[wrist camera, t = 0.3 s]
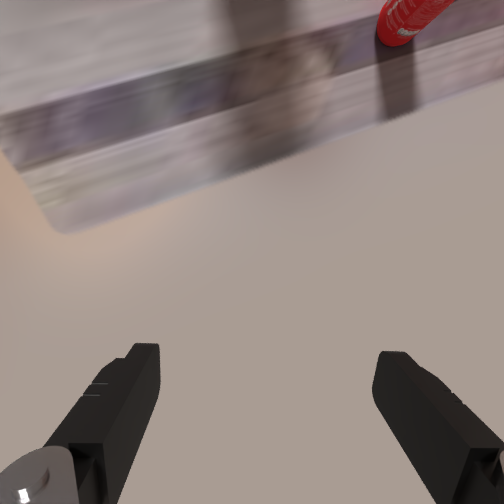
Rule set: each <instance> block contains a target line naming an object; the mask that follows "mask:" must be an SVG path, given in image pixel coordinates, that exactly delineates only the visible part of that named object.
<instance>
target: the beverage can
mask: <svg viewBox="0 0 504 504" xmlns="http://www.w3.org/2000/svg"><path fill="white" fill-rule="evenodd" d="M454 1H455V0H388V1H387V2H386V3H385V5H384V6H383V8H382V10H381V12H380V15H379V19H378V22H377V35H378V38H379V40H380V41H381V42H382V43H383V44H384V45H386V46H388V47H395V46H398V45H403V44H405V43H407V42H408V41H409V40H411V39H412V38H413V37H414V36H415V35H416V34H417V33H419V32H420V31H421V30H422V29H423V28H424V27H425V26H426V25H428V24H429V23H430V22H431V21H432V20H433V19H434V18H436V17H437V16H438V15H439V14H440V13H441V12H442V11H443V10H445V9H446V8H447V7H448V6H449V5H450V4H451V3H453V2H454Z"/></svg>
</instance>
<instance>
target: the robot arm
mask: <svg viewBox="0 0 504 504" xmlns="http://www.w3.org/2000/svg"><path fill="white" fill-rule="evenodd" d="M159 390H160V351H159V345H158V344H152V343H135V344H134V345H133V347H132V348H131V350H130V351H129V353H128V354H127V355H126V357H125V358H116V359H115V360H113V361H112V362H111V363H109V364H108V365H106V366H105V367H104V368H102V369H101V371H100V372H99V373H98V375H97V376H96V377H95V379H94V380H93V381H92V384H91V385H89V386H88V388H87V389H86V390H85V392H84V393H83V396H81V397H80V398H79V400H78V401H77V403H76V404H75V405H74V407H73V408H72V409H71V410H70V412H69V413H68V414H67V416H66V417H65V419H64V420H63V421H62V422H61V424H60V425H59V426H58V428H57V429H56V430H55V432H54V433H53V434H52V436H51V437H50V438H49V440H48V441H47V442H46V444H45V445H44V446H43V447H42V448H40V449H36V450H34V451H32V452H29V453H28V454H26V455H24V456H22V457H20V458H19V459H17V460H16V461H15V462H13V463H12V464H10V465H9V466H8V467H7V468H6V469H4V470H3V471H2V472H1V473H0V504H117V502H118V500H119V497H120V495H121V492H122V489H123V487H124V484H125V482H126V479H127V477H128V474H129V471H130V469H131V466H132V463H133V461H134V459H135V456H136V453H137V451H138V448H139V446H140V443H141V440H142V438H143V435H144V433H145V430H146V428H147V425H148V422H149V420H150V417H151V415H152V412H153V410H154V407H155V404H156V402H157V399H158V395H159ZM372 394H373V398H374V401H375V404H376V406H377V408H378V409H379V411H380V412H381V414H382V416H383V417H384V419H385V420H386V422H387V424H388V426H389V427H390V429H391V430H392V432H393V434H394V435H395V437H396V439H397V440H398V442H399V443H400V445H401V447H402V448H403V450H404V452H405V453H406V455H407V456H408V458H409V460H410V461H411V463H412V465H413V466H414V468H415V469H416V471H417V473H418V475H419V476H420V478H421V480H422V481H423V483H424V484H425V486H426V488H427V489H428V491H429V493H430V494H431V496H432V498H433V499H434V501H435V502H436V504H504V442H503V441H502V440H501V439H500V438H499V437H498V436H497V435H496V434H495V433H494V432H493V431H492V430H491V429H490V428H488V426H487V425H485V423H484V422H482V421H481V420H480V419H479V418H478V417H477V416H476V415H475V414H474V413H473V412H472V411H471V410H470V409H469V408H468V407H467V406H466V405H465V404H463V403H462V401H461V400H460V399H459V398H458V397H457V396H456V395H455V394H454V393H451V390H450V389H449V388H448V387H447V386H446V385H445V384H444V383H443V382H442V381H441V380H440V379H439V378H438V377H436V376H435V375H433V374H432V373H430V372H428V371H427V370H425V369H424V368H422V367H420V366H419V365H418V364H417V363H416V362H415V361H414V360H413V359H412V358H411V357H410V356H409V355H408V354H407V353H405V352H398V351H382V352H381V353H380V354H379V357H378V362H377V367H376V371H375V376H374V381H373V385H372Z"/></svg>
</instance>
